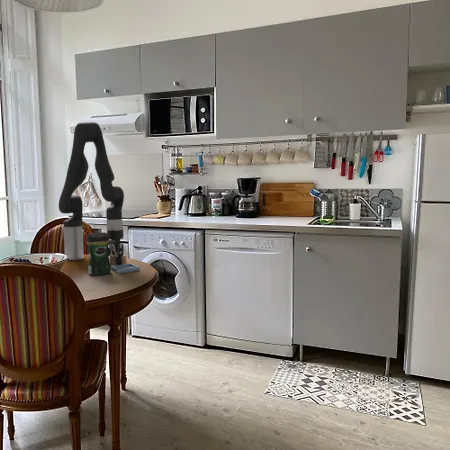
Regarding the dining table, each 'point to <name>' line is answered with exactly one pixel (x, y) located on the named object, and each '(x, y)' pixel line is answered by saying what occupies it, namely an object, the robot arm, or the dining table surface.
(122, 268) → the blue grey tray
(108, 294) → the dining table surface
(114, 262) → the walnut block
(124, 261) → the terracotta cube
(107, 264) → the coffee jar
